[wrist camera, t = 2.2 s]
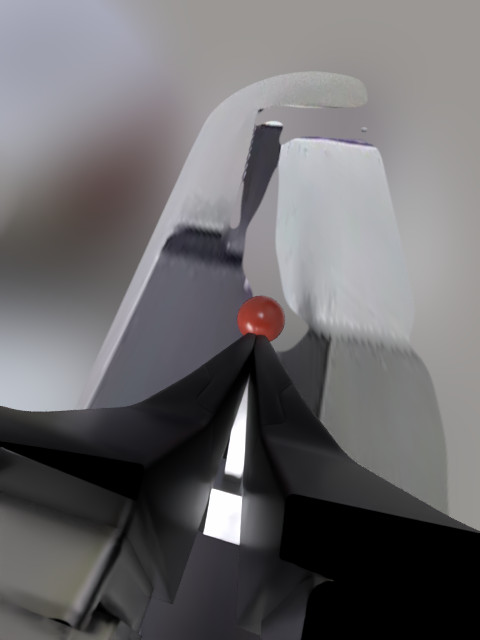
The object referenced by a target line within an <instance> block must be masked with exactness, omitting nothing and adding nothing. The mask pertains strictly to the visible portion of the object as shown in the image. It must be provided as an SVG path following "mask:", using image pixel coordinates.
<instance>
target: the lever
mask: <svg viewBox="0 0 480 640" xmlns="http://www.w3.org/2000/svg"><path fill="white" fill-rule="evenodd" d="M237 323H238V327H239V330H240V332H241V333H242V334H243V336H244V335H245V334H246V333H248V332H249V333H254V334H256V335H258V334H260V335H265V336H266V337H267V338H268V340H269V342H270V341H272V340H274V339H275V338H277V337H278V336H279V335H280V333H281V332H282V330H283V328H284V324H285V315H284V311H283V309H282V307H281V306H280V304H279V303H277V301H275V300H274V299H272V298H270V297H266V296H255V297H252V298H250V299H248V300H247V301H246V302H244V303H243V305H242V306H241V308H240V309H239V312H238V316H237ZM248 382H249V379H248ZM247 398H248V383H247V386H246V389H245V392H244V395H243V398H242V401H241V404H240V407H239V410H238V413H237V416H236V419H235V422H234V425H233V428H232V431H231V435H230V441H229V447H228V452H227V458H226V459H223V458H222V460H221V463H220V466H219V469H218V472H217V475H216V478H215V481H214V484H213V487H212V490H211V493H210V495H209V499H208V505H207V511H206V517H205V522H204V528H203V534H204V535H207V536H210V537H213V538H217V539H220V540H223V541H226V542H229V543H233V544H236V545H239V544H240V526H241V507H242V490H243V471H244V453H245V435H246V417H247Z"/></svg>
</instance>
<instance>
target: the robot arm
mask: <svg viewBox="0 0 480 640" xmlns="http://www.w3.org/2000/svg"><path fill="white" fill-rule="evenodd" d="M248 379H249V382H248ZM247 383H248V398H247V417H246V435H245V453H244V471H243V490H242V507H241V526H240V544H239V562H238V581H237V599H236V617H235V626H236V627H237V628H240V629H243V630H245V631H248V632H251V633H254V634H257V635H259V636H261V638H260V640H480V531H478V530H476V529H474V528H471V527H469V526H467V525H465V524H463V523H461V522H459V521H457V520H455V519H452V518H451V517H449V516H447V515H445V514H443V513H442V512H440V511H438V510H436V509H435V508H433V507H431V506H429V505H428V504H426V503H424V502H422V501H421V500H419V499H417V498H416V497H414V496H412V495H410V494H409V493H407V492H405V491H403V490H402V489H400V488H398V487H396V486H395V485H393V484H391V483H390V482H388V481H386V480H384V479H383V478H381V477H379V476H377V475H376V474H374V473H372V472H371V471H369V470H367V469H365V468H364V467H362V466H360V465H359V464H357V463H356V462H355V461H353V460H352V459H351V458H350V457H349V456H348V455H347V454H346V453H345V452H344V451H343V450H342V449H341V448H340V447H339V445H338V444H337V443H336V441H335V440H334V439H333V438H332V436H331V435H330V434H329V432H328V431H327V430H326V428H325V427H324V426H323V424H322V423H321V422H320V420H319V419H318V418H317V416H316V415H315V414H314V413H313V411H312V410H311V408H310V407H309V406H308V404H307V403H306V401H305V400H304V398H303V397H302V395H301V394H300V392H299V391H298V389H297V387H296V386H295V384H294V383H293V381H292V379H291V377H290V376H289V374H288V372H287V370H286V369H285V367H284V365H283V364H282V362H281V360H280V359H279V357H278V355H277V354H276V352H275V350H274V348H273V347H272V345H271V343H270V342H269V340H268V338H267V337H266V336H265V335H260V334H258V335H256V334H254V333H249V332H248V333H246V334H245V335H244V336H242V337H241V338H240V339H238V340H237V341H235V342H234V343H233V344H231V345H230V346H229V347H227V348H226V349H224V350H223V351H222V352H220V353H219V354H218V355H216V356H215V357H213V358H212V359H211V360H209V361H208V362H207V363H205V364H204V365H202V366H201V367H200V368H198V369H197V370H195V371H194V372H192V373H191V374H189V375H188V376H186V377H184V378H183V379H181V380H179V381H178V382H176V383H174V384H173V385H171V386H169V387H167V388H166V389H164V390H162V391H160V392H158V393H157V394H155V395H153V396H151V397H150V398H148V399H146V400H144V401H142V402H140V403H137V404H135V405H131V406H127V407H118V408H102V409H85V410H70V411H52V412H31V411H21V410H15V409H11V408H7V407H3V406H0V640H141V638H142V636H141V635H140V634H139V631H140V628H141V625H142V622H143V619H144V616H145V613H146V610H147V608H148V605H149V602H150V599H151V597H154V598H157V599H159V600H162V601H165V602H168V603H171V604H173V602H174V599H175V596H176V593H177V590H178V587H179V584H180V581H181V578H182V575H183V572H184V569H185V566H186V563H187V560H188V558H189V555H190V552H191V549H192V546H193V543H194V540H195V537H196V534H197V531H198V528H199V525H200V522H201V519H202V516H203V513H204V510H205V507H206V504H207V502H208V499H209V495H210V493H211V490H212V487H213V484H214V481H215V478H216V475H217V472H218V469H219V466H220V463H221V460H222V457H223V454H224V451H225V448H226V445H227V442H228V439H229V436H230V434H231V431H232V428H233V425H234V422H235V419H236V416H237V413H238V410H239V407H240V404H241V401H242V398H243V395H244V392H245V389H246V386H247Z"/></svg>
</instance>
